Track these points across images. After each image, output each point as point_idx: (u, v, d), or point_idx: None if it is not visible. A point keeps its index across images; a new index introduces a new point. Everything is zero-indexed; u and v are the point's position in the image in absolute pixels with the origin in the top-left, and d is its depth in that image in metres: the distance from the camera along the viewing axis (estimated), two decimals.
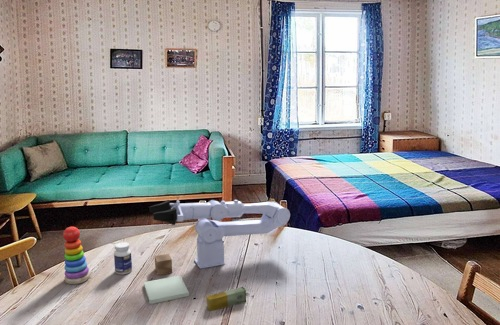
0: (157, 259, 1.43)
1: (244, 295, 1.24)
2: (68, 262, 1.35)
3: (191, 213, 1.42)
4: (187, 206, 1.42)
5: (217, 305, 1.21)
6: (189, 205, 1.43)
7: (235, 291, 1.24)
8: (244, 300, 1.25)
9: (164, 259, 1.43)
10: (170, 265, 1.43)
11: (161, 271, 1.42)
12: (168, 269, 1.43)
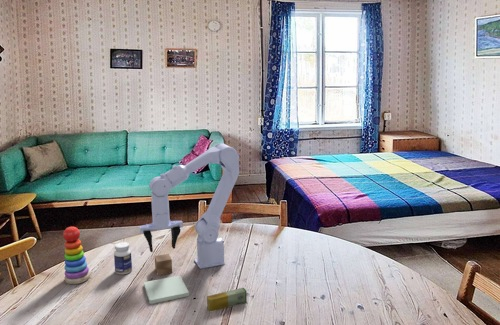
0: (157, 259, 1.43)
1: (245, 296, 1.24)
2: (68, 262, 1.35)
3: (152, 214, 1.39)
4: None
5: (217, 306, 1.21)
6: None
7: (236, 292, 1.23)
8: (245, 301, 1.24)
9: (164, 259, 1.43)
10: (170, 265, 1.43)
11: (161, 271, 1.42)
12: (168, 269, 1.43)
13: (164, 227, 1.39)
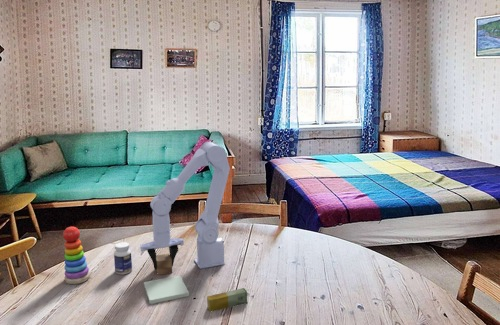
0: (157, 259, 1.43)
1: (245, 296, 1.24)
2: (68, 262, 1.35)
3: (153, 233, 1.41)
4: None
5: (217, 306, 1.21)
6: None
7: (236, 292, 1.23)
8: (245, 301, 1.24)
9: (164, 259, 1.43)
10: (170, 265, 1.43)
11: (161, 271, 1.42)
12: (168, 269, 1.43)
13: (165, 245, 1.40)
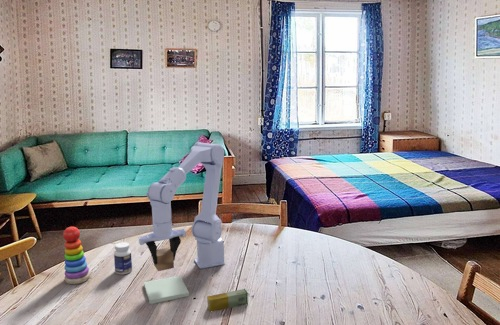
0: (157, 253, 1.29)
1: (246, 297, 1.23)
2: (68, 262, 1.35)
3: (153, 224, 1.27)
4: None
5: (217, 306, 1.20)
6: None
7: (236, 293, 1.23)
8: (245, 302, 1.23)
9: (165, 253, 1.29)
10: (171, 259, 1.30)
11: (162, 266, 1.29)
12: (170, 264, 1.30)
13: (167, 237, 1.27)
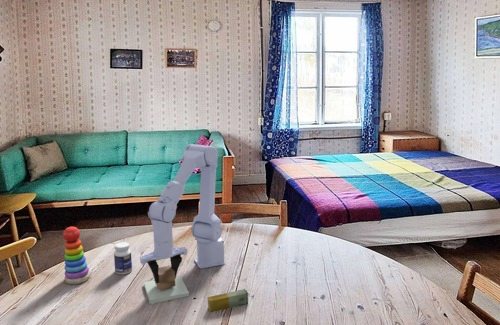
0: (158, 272, 1.29)
1: (246, 297, 1.23)
2: (68, 262, 1.35)
3: (154, 243, 1.27)
4: None
5: (218, 307, 1.20)
6: None
7: (237, 293, 1.23)
8: (246, 303, 1.23)
9: (166, 272, 1.29)
10: (173, 278, 1.30)
11: (163, 285, 1.29)
12: (171, 282, 1.30)
13: (168, 256, 1.27)
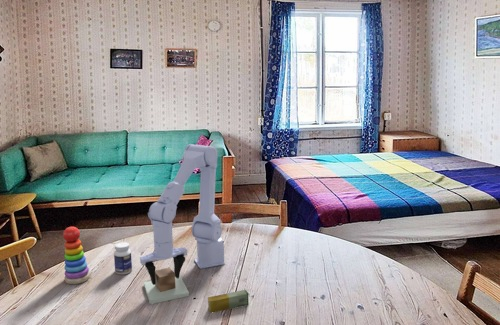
0: (158, 274, 1.29)
1: (246, 298, 1.23)
2: (68, 262, 1.35)
3: (154, 243, 1.27)
4: None
5: (218, 307, 1.20)
6: None
7: (237, 294, 1.22)
8: (246, 303, 1.23)
9: (166, 274, 1.29)
10: (173, 280, 1.30)
11: (163, 287, 1.29)
12: (171, 284, 1.30)
13: (168, 257, 1.27)
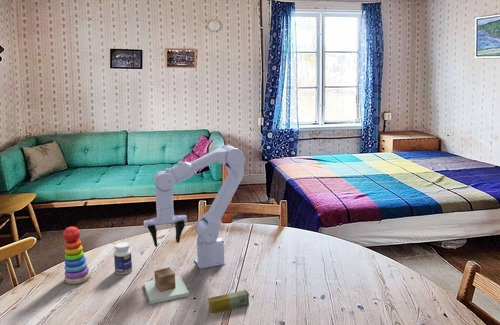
0: (158, 274, 1.29)
1: (247, 298, 1.23)
2: (68, 262, 1.35)
3: None
4: None
5: (219, 308, 1.20)
6: None
7: (238, 294, 1.22)
8: (247, 304, 1.23)
9: (166, 274, 1.29)
10: (173, 280, 1.30)
11: (163, 287, 1.29)
12: (171, 284, 1.30)
13: (169, 221, 1.39)
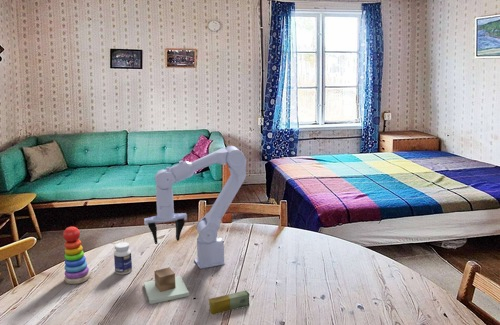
0: (158, 274, 1.29)
1: (247, 299, 1.22)
2: (68, 262, 1.35)
3: (157, 207, 1.42)
4: None
5: (219, 309, 1.19)
6: None
7: (238, 295, 1.22)
8: (247, 304, 1.23)
9: (166, 274, 1.29)
10: (173, 280, 1.30)
11: (163, 287, 1.29)
12: (171, 284, 1.30)
13: (168, 219, 1.41)
